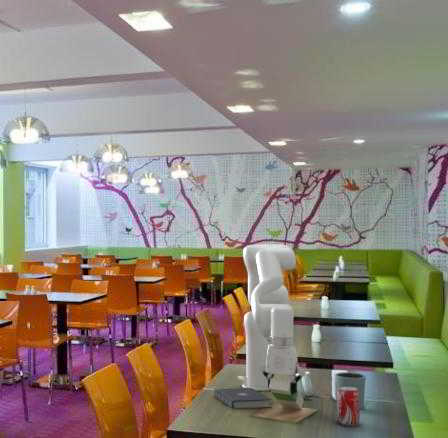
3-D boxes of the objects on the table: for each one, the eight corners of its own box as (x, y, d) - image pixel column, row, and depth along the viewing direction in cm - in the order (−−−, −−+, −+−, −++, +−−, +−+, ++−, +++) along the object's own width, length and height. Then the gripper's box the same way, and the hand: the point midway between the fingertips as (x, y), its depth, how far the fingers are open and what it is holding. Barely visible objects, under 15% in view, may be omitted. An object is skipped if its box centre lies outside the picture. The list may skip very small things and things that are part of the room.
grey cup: (365, 405, 286) (364, 373, 286) (366, 412, 276) (366, 378, 276) (335, 403, 289) (335, 371, 289) (336, 410, 279) (336, 376, 279)
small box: (350, 402, 292) (350, 374, 292) (335, 401, 293) (335, 373, 293) (347, 397, 300) (347, 370, 300) (331, 396, 301) (331, 369, 301)
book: (214, 396, 301) (213, 389, 301) (251, 395, 302) (251, 387, 302) (232, 409, 279) (232, 400, 280) (272, 407, 281) (271, 399, 281)
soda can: (333, 421, 263) (333, 386, 263) (353, 421, 263) (353, 385, 264) (342, 427, 256) (342, 390, 256) (363, 426, 256) (363, 390, 257)
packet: (268, 388, 271) (270, 377, 273) (282, 407, 282) (284, 396, 283) (288, 391, 267) (290, 380, 269) (301, 410, 277) (303, 399, 279)
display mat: (250, 416, 270) (250, 415, 270) (274, 404, 287) (274, 403, 287) (296, 423, 260) (296, 422, 260) (317, 411, 278) (317, 409, 278)
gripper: (254, 340, 275) (254, 391, 274) (302, 345, 264) (303, 397, 264) (262, 338, 280) (262, 387, 280) (310, 342, 270) (310, 393, 270)
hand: (282, 392), depth 272 cm, fingers closed on packet, 7 cm apart
